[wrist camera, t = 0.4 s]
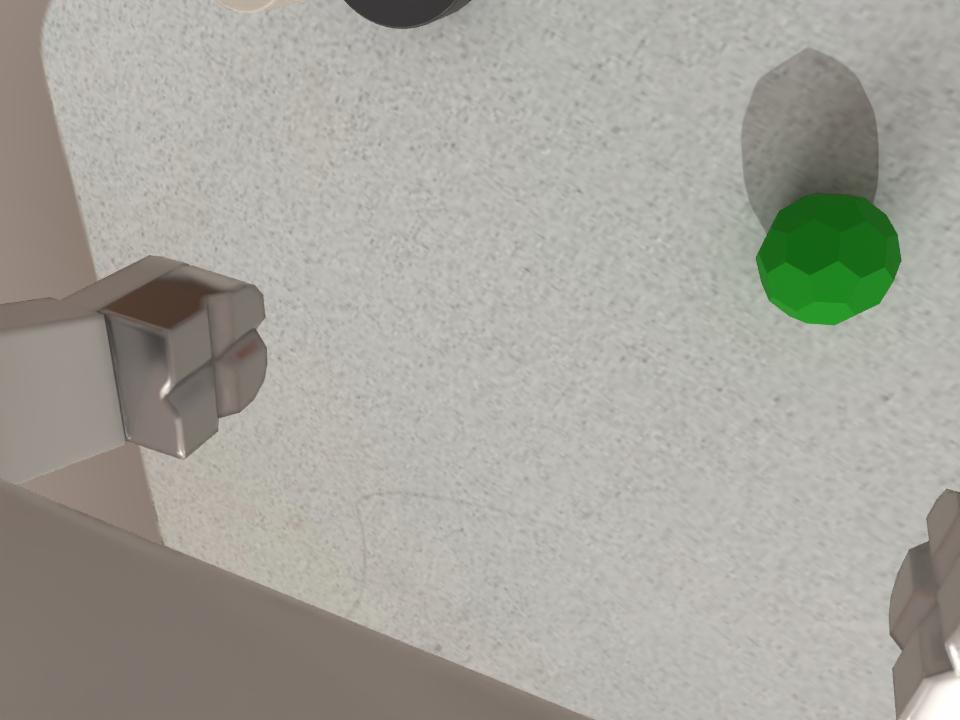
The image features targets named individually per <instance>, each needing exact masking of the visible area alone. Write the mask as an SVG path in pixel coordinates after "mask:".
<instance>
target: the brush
mask: <svg viewBox="0 0 960 720" xmlns="http://www.w3.org/2000/svg"><path fill="white" fill-rule="evenodd" d="M217 1H218V2H219V3H221V4H222V5H224V6H225V7H227V8H229V9H232V10H234V11H237V12H242V13H255V12H260V11H264V10H268V9H273V8H277V7H281V6H285V5H290V4H294V3H298V2H303V1H307V0H217ZM344 1H345V2H346V3H347V4H348V5H349V6H350V7H351V8H352V9H354V10H355V11H356V12H357V13H358V14H360V15H361V16H363V17H365V18H366V19H368V20H370V21H372V22H374V23H376V24H379V25H382V26H385V27H390V28H397V29H408V28H415V27H419V26H423V25H426V24H429V23H431V22H433V21H436V20H438V19H441V18H443V17H445V16H448V15H450V14H452V13H454V12H456V11H458V10H459V9H461V8H462V7H464V6H465V5H466V4H467V3H469V2H470V1H471V0H344Z"/></svg>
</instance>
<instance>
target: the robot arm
mask: <svg viewBox="0 0 960 720" xmlns="http://www.w3.org/2000/svg"><path fill="white" fill-rule="evenodd" d="M264 319H265V309H264V299H263V294H262V293H261V292H260V291H259V289H258V288H257V287H256V286H255V285H253V284H249V283H246V282H243V281H240V280H237V279H234V278H230V277H227V276H224V275H221V274H218V273H215V272H211V271H208V270H205V269H202V268H199V267H196V266H190V265H189V264H187V263H184V262H180V261H176V260H173V259H169V258H165V257H160V256H151V255H149V256H147V257H145V258H143V259H141V260H139V261H137V262H135V263H133V264H131V265H129V266H127V267H125V268H123V269H121V270H119V271H117V272H115V273H113V274H111V275H109V276H107V277H105V278H103V279H101V280H99V281H97V282H95V283H93V284H91V285H89V286H87V287H85V288H83V289H82V290H80V291H78V292H75V293H73V294H71V295H69V296H68V297H65V298H64V299H62V300H57V299H54V298H51V297H48V298H42V299H34V300H27V301H20V302H14V303H7V304H0V720H594V719H592V718H589V717H587V716H584V715H582V714H579V713H577V712H574V711H572V710H570V709H567V708H565V707H562V706H560V705H557V704H555V703H552V702H550V701H547V700H545V699H543V698H540V697H538V696H535V695H533V694H530V693H528V692H525V691H523V690H520V689H518V688H516V687H513V686H511V685H508V684H506V683H503V682H501V681H498V680H496V679H494V678H491V677H489V676H486V675H484V674H481V673H479V672H476V671H474V670H471V669H469V668H466V667H464V666H461V665H459V664H456V663H454V662H452V661H449V660H447V659H444V658H442V657H439V656H437V655H434V654H432V653H429V652H427V651H424V650H422V649H419V648H417V647H414V646H412V645H409V644H407V643H405V642H402V641H400V640H397V639H395V638H392V637H390V636H387V635H385V634H382V633H380V632H377V631H375V630H372V629H370V628H367V627H365V626H362V625H360V624H358V623H355V622H353V621H350V620H348V619H345V618H343V617H340V616H338V615H335V614H333V613H330V612H328V611H325V610H323V609H320V608H318V607H315V606H313V605H311V604H308V603H306V602H303V601H301V600H298V599H296V598H293V597H291V596H288V595H286V594H283V593H281V592H278V591H276V590H273V589H271V588H268V587H266V586H264V585H261V584H259V583H256V582H254V581H251V580H249V579H246V578H244V577H241V576H239V575H236V574H234V573H231V572H229V571H226V570H224V569H222V568H219V567H217V566H214V565H212V564H209V563H207V562H204V561H202V560H199V559H197V558H194V557H192V556H189V555H187V554H184V553H182V552H180V551H177V550H175V549H172V548H170V547H167V546H165V545H162V544H160V543H157V542H155V541H152V540H150V539H147V538H145V537H142V536H140V535H138V534H135V533H133V532H130V531H128V530H125V529H122V528H120V527H118V526H115V525H113V524H110V523H108V522H105V521H103V520H100V519H98V518H96V517H93V516H91V515H88V514H86V513H83V512H81V511H78V510H76V509H73V508H71V507H68V506H66V505H64V504H61V503H59V502H56V501H53V500H51V499H49V498H46V497H44V496H41V495H39V494H36V493H34V492H31V491H29V490H26V489H24V488H22V487H19V486H17V485H18V484H21V483H23V482H26V481H29V480H31V479H34V478H37V477H39V476H42V475H45V474H48V473H50V472H53V471H56V470H58V469H61V468H64V467H66V466H69V465H72V464H74V463H77V462H80V461H82V460H85V459H88V458H90V457H93V456H96V455H98V454H101V453H104V452H107V451H109V450H112V449H115V448H117V447H120V446H123V445H125V444H126V441H128V442H131V443H134V444H137V445H140V446H143V447H146V448H149V449H152V450H155V451H158V452H161V453H164V454H167V455H170V456H173V457H176V458H179V459H182V460H185V459H186V458H187V457H188V456H189V455H190V454H192V453H193V452H194V451H195V450H196V449H198V448H199V447H200V446H201V445H202V444H203V443H205V442H206V441H207V440H208V439H209V438H211V437H212V436H213V435H214V434H215V433H216V432H218V425H219V418H222V417H225V416H229V415H232V414H236V413H240V412H241V411H242V410H243V409H244V408H245V407H247V406H248V405H249V404H250V403H251V402H252V401H253V400H254V399H255V397H256V395H257V393H258V391H259V389H260V388H261V386H262V384H263V382H264V379H265V374H266V368H267V347H266V345H265V344H264V342H263V340H262V339H261V337H260V335H259V334H258V332H257V330H256V329H257V328H258V326H259V325H260V324H261V323H262V321H263V320H264ZM926 520H927V528H928V536H929V541H928V542H925V543H923V544H921V545H918V546H916V547H914V548H912V549H909V551H908V553H907V555H906V557H905V559H904V561H903V563H902V565H901V567H900V569H899V571H898V573H897V577H896V580H895V584H894V587H893V591H892V594H891V599H890V609H889V629H890V636H891V637H892V638H893V640H894V641H895V642H896V643H897V645H898V646H899V647H900V649H901V650H902V653H901V654H900V656H899V658H898V660H897V661H896V663H895V665H894V667H893V668H892V672H893V684H894V696H895V708H896V720H960V492H957V491H953V490H949V489H946V490H945V491H944V492H943V493H942V494H941V495H940V496H939V498H938V499H937V500H936V502H935V503H934V505H933V507H932V509H931V510H930V512H929V514H928V516H927V518H926Z"/></svg>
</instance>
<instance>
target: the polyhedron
mask: <svg viewBox="0 0 960 720" xmlns="http://www.w3.org/2000/svg"><path fill="white" fill-rule="evenodd" d="M756 261H757V266H758V270H759V274H760V279H761V282H762V285H763V287H764V290H765V292H766V294H767V297H768V299H769V301H770V302H772V303H773V304H774V305H776V306H777V307H778V308H779V309H781V310H782V311H783V312H785V313H786V314H787V315H789V316H790V317H793V318H795V319H798V320H800V321H802V322H805V323H810V324H825V325H836V324H838V323H840V322H842V321H844V320H847V319H849V318H851V317H853V316H855V315H857V314H859V313H861V312H863V311H865V310H867V309H869V308H872V307H874V306H876V305H878V304H879V303H880V302H881V300H882V299H883V297H884V295H885V294H886V292H887V291H888V289H889V287H890V286H891V284H892V283H893V281H894V279H895V276H896V273H897V271H898V268H899V265H900V263H901V255H900V248H899V241H898V235H897V233H896V231H895V229H894V227H893V226H892V224H891V222H890V220H889V219H888V217H887V215H886V214H884V213H883V212H882V211H881V210H879V209H878V208H877V207H875V206H874V205H873V204H872V203H870V202H869V201H868V200H867V199H865V198H861V197H856V196H850V195H840V194H814V195H809V196H805V197H803V198H802V199H800V200H798V201H796V202H795V203H793V204H791V205H789V206H788V207H786V208H784V209H782V210H781V211H779V213H778V215H777V216H776V218H775V220H774V222H773V224H772V226H771V228H770V230H769V232H768V234H767V236H766V238H765V240H764V242H763V244H762V246H761V248H760V250H759V252H758V254H757V256H756Z"/></svg>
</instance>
